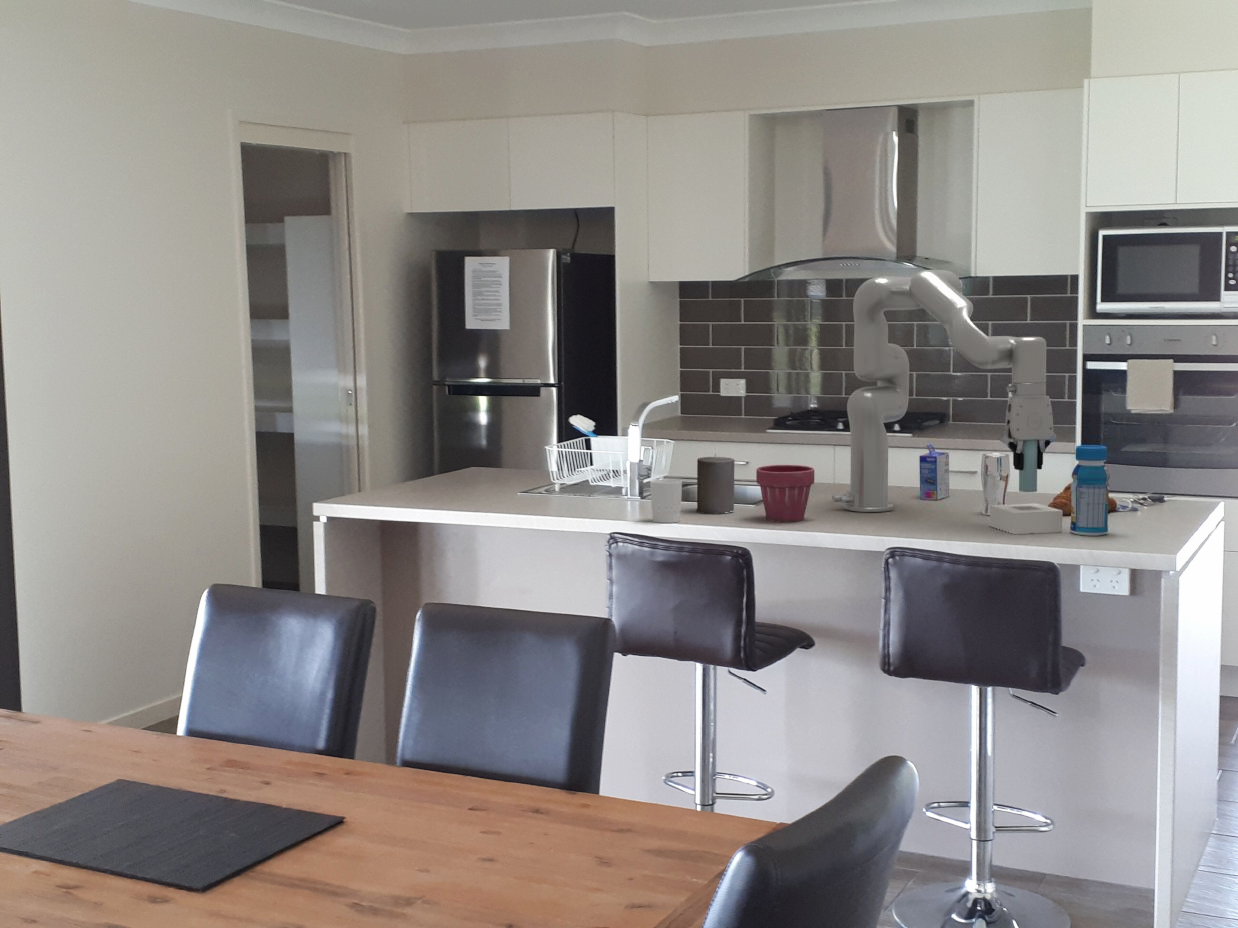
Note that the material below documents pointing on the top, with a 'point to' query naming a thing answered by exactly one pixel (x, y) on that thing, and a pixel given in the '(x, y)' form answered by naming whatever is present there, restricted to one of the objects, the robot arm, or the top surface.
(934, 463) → the ink cartridge box
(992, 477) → the beer glass
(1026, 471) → the peg
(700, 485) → the pillar candle
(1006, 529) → the socket block
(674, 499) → the white cup
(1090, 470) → the beverage bottle
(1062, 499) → the pastry
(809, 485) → the plant pot
